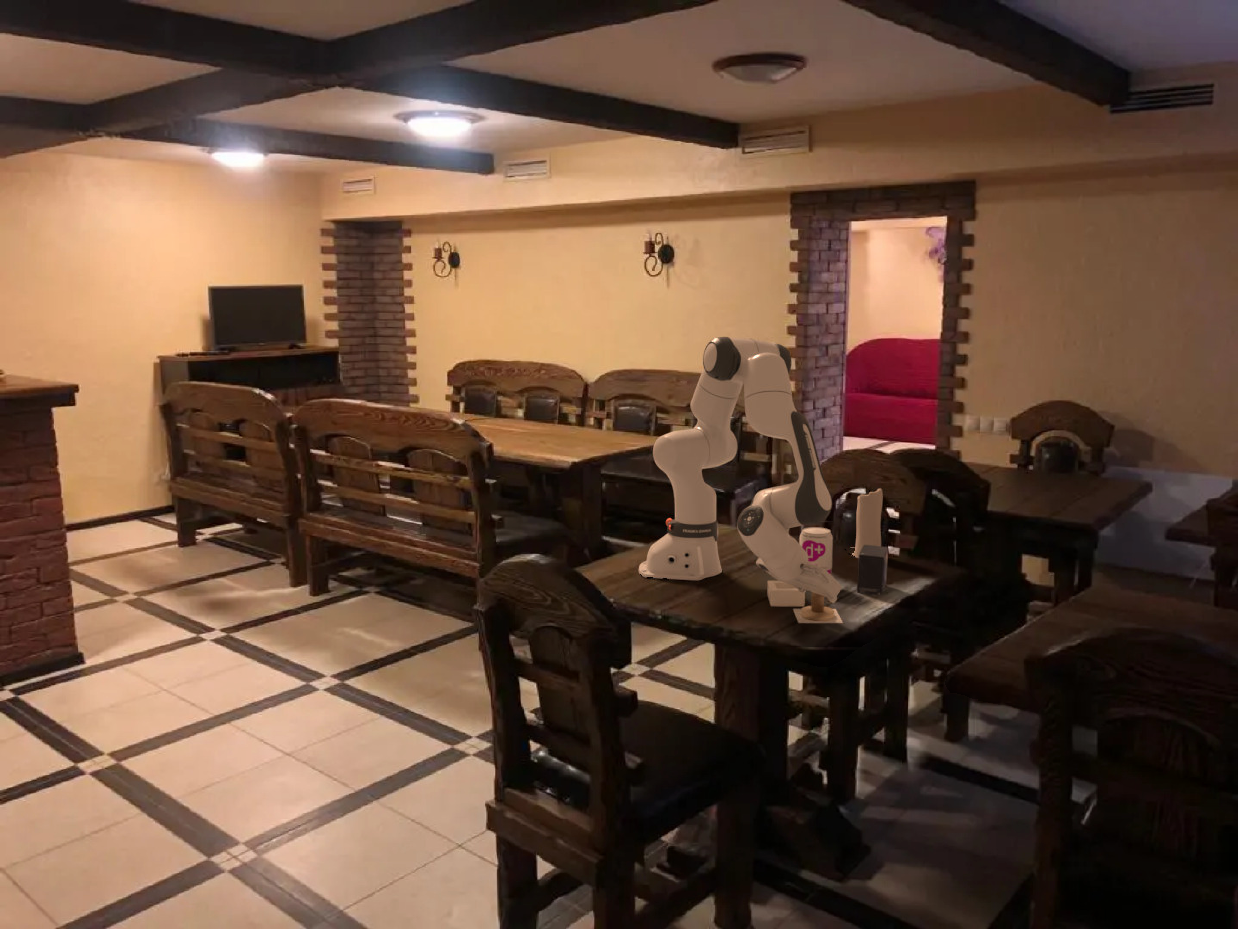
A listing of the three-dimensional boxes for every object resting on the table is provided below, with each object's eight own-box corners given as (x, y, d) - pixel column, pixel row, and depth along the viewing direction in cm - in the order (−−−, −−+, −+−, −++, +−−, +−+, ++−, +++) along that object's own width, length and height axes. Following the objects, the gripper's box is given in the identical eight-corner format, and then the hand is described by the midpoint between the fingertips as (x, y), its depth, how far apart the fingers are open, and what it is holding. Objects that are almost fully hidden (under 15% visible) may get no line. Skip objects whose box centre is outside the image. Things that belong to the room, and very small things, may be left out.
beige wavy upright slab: (858, 547, 292) (860, 480, 289) (885, 558, 279) (888, 489, 276) (837, 549, 290) (839, 482, 286) (863, 561, 277) (865, 491, 273)
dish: (770, 608, 237) (771, 590, 236) (767, 598, 245) (767, 580, 244) (804, 608, 236) (804, 590, 236) (800, 598, 244) (800, 580, 244)
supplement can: (825, 594, 247) (827, 535, 245) (794, 589, 251) (795, 532, 249) (835, 585, 254) (837, 528, 252) (804, 581, 258) (805, 525, 256)
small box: (883, 597, 244) (884, 556, 242) (856, 595, 247) (857, 554, 245) (887, 585, 254) (888, 546, 252) (861, 583, 256) (862, 544, 254)
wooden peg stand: (803, 621, 226) (803, 585, 224) (798, 610, 233) (799, 575, 232) (836, 621, 225) (837, 585, 224) (831, 610, 233) (832, 575, 231)
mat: (798, 625, 225) (798, 622, 225) (792, 611, 235) (792, 608, 234) (842, 625, 224) (843, 622, 224) (835, 611, 234) (835, 608, 234)
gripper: (828, 559, 214) (859, 595, 221) (765, 540, 231) (796, 574, 238) (812, 583, 212) (844, 618, 219) (750, 561, 229) (782, 595, 236)
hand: (818, 595), depth 229 cm, fingers open, 8 cm apart
